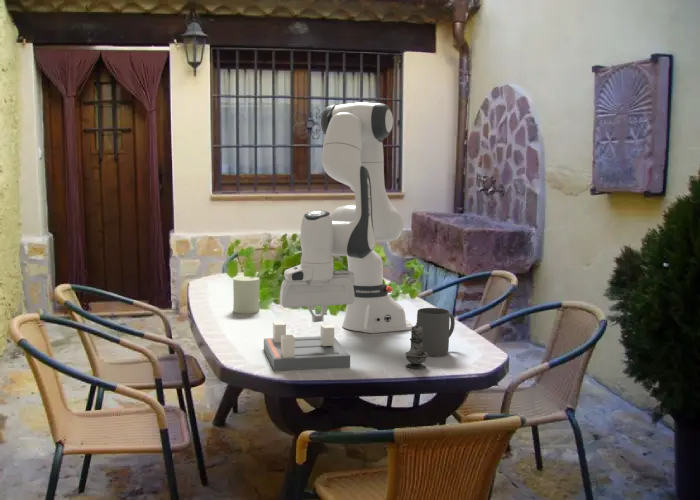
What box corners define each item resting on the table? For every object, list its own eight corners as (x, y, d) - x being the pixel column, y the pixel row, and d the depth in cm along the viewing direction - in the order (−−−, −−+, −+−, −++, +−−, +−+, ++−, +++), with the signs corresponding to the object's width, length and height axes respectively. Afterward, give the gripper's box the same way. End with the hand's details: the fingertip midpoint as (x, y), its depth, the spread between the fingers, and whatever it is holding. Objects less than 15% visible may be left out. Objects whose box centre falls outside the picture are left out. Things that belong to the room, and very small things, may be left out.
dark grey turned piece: (403, 363, 200) (404, 319, 198) (424, 363, 200) (426, 319, 199) (406, 370, 194) (407, 324, 192) (429, 370, 194) (430, 324, 193)
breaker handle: (331, 342, 207) (331, 324, 207) (334, 345, 204) (334, 327, 203) (320, 342, 207) (320, 324, 206) (323, 346, 203) (323, 328, 202)
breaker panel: (332, 345, 217) (333, 318, 216) (350, 366, 196) (350, 336, 195) (263, 348, 213) (263, 321, 212) (273, 370, 191) (273, 340, 190)
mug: (433, 358, 205) (434, 315, 204) (409, 352, 212) (410, 310, 210) (465, 350, 214) (466, 309, 213) (441, 344, 221) (442, 304, 219)
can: (264, 310, 265) (264, 276, 264) (247, 314, 257) (247, 280, 256) (244, 307, 270) (244, 274, 269) (227, 311, 262) (227, 277, 261)
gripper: (352, 267, 208) (352, 316, 210) (278, 271, 203) (279, 320, 205) (357, 271, 202) (357, 321, 204) (281, 275, 197) (282, 326, 199)
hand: (317, 321), depth 204 cm, fingers closed
